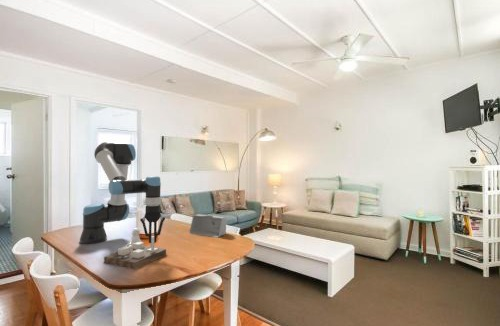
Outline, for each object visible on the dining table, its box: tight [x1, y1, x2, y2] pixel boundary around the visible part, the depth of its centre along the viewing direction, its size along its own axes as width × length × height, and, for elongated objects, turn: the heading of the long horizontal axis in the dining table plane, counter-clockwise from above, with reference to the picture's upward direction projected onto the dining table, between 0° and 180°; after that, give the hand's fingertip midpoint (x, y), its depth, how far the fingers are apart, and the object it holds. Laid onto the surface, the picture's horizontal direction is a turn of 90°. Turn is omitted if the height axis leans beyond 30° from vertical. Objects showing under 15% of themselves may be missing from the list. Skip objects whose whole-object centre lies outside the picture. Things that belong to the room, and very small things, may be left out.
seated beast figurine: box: [126, 227, 143, 248], centre depth 163 cm, size 10×9×12 cm
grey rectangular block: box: [189, 213, 227, 238], centre depth 199 cm, size 25×16×12 cm, turn 64°
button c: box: [133, 241, 145, 250], centre depth 152 cm, size 4×4×4 cm
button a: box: [117, 246, 130, 256], centre depth 143 cm, size 4×4×4 cm
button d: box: [147, 247, 159, 253], centre depth 148 cm, size 4×4×4 cm
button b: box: [132, 249, 144, 259], centre depth 139 cm, size 4×4×4 cm
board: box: [103, 245, 167, 270], centre depth 145 cm, size 20×22×4 cm
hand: (152, 248), depth 148 cm, fingers closed
